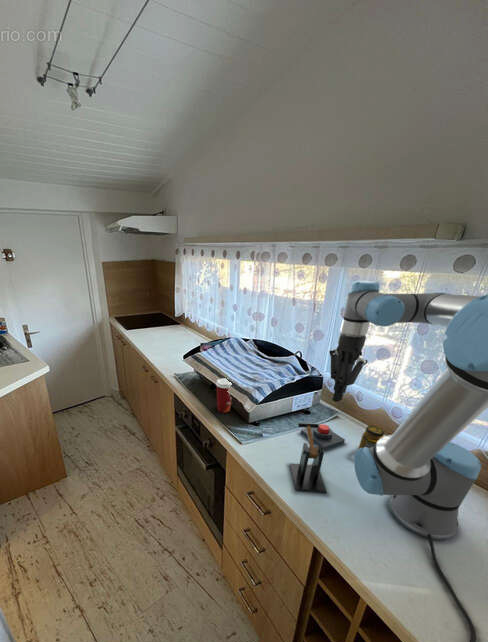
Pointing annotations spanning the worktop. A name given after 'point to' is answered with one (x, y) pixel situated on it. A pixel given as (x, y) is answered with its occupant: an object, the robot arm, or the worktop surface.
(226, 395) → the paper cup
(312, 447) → the small hammer
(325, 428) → the button
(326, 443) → the button box
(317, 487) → the rod bracket
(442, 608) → the worktop surface
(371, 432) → the condiment
